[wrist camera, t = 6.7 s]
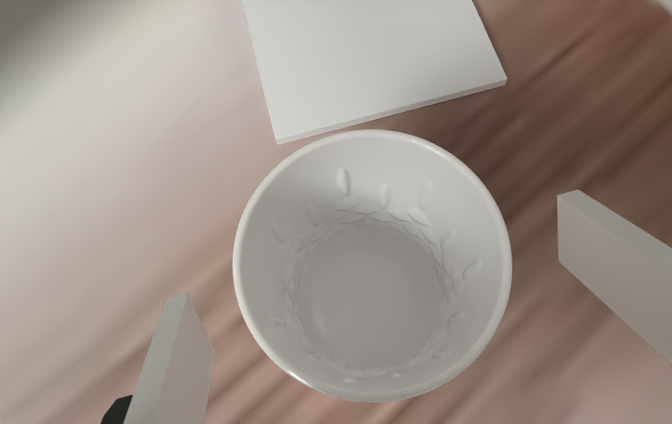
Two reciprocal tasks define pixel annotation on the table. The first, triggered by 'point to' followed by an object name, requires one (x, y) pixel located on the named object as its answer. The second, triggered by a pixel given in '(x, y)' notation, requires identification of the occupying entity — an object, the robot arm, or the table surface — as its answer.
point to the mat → (365, 59)
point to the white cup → (372, 265)
